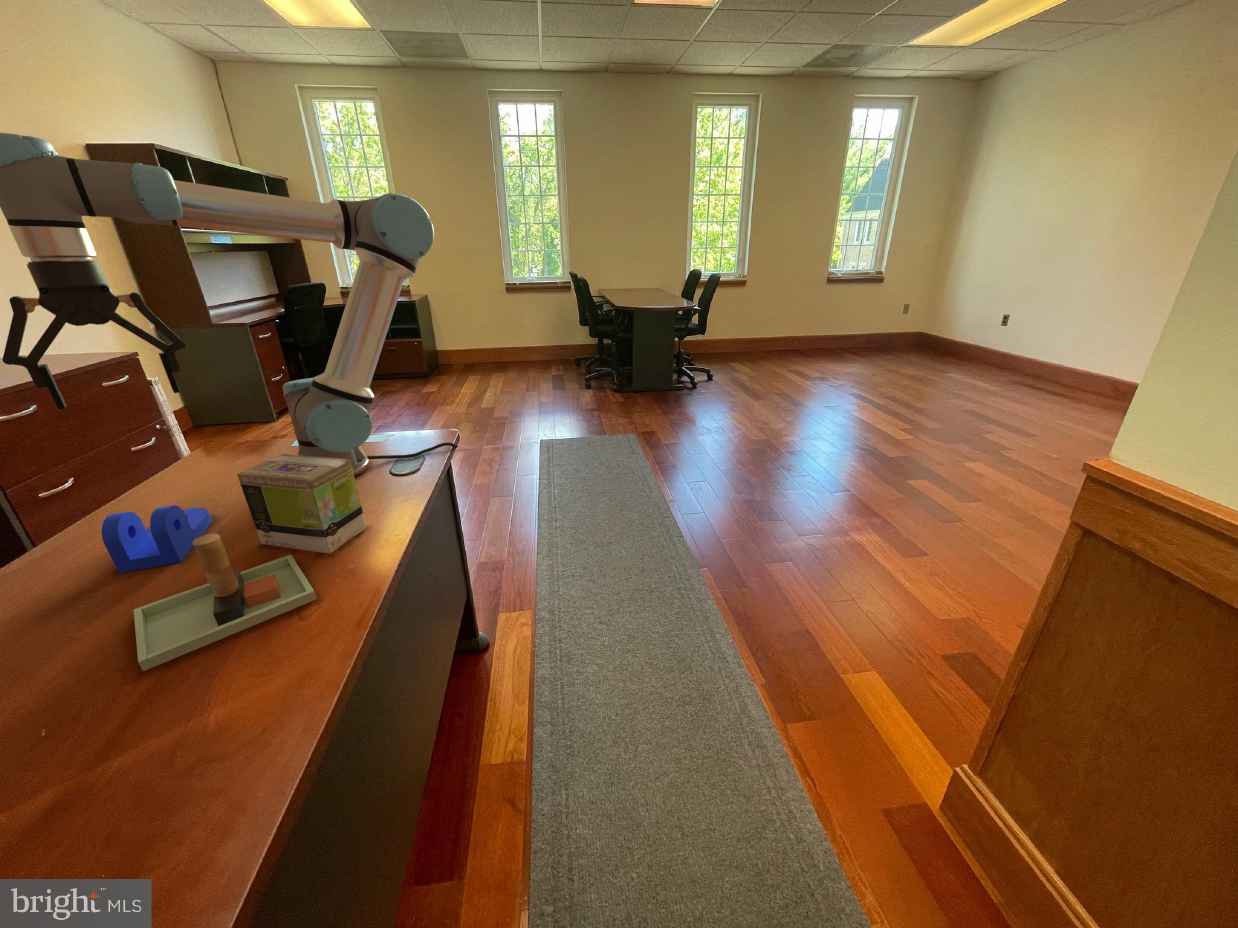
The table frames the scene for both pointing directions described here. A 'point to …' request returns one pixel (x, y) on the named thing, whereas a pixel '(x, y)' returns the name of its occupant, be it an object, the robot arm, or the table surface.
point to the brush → (221, 579)
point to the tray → (211, 614)
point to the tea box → (303, 502)
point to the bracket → (153, 536)
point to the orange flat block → (261, 591)
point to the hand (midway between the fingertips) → (122, 399)
